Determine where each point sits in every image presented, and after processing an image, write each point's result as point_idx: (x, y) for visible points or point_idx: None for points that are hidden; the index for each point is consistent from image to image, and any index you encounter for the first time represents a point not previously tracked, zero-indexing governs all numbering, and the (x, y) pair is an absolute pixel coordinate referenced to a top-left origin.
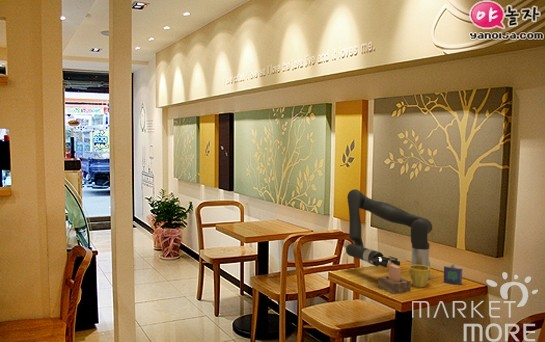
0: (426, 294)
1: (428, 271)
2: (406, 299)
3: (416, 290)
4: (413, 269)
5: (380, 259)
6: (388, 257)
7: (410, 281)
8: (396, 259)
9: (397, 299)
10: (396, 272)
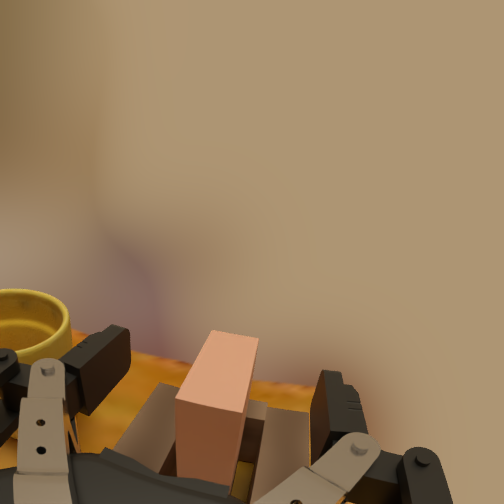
0: (154, 371)
1: (36, 301)
2: (290, 393)
3: (127, 410)
4: (61, 334)
5: (318, 478)
6: (31, 430)
7: (160, 383)
8: (18, 362)
9: None
10: (252, 377)
